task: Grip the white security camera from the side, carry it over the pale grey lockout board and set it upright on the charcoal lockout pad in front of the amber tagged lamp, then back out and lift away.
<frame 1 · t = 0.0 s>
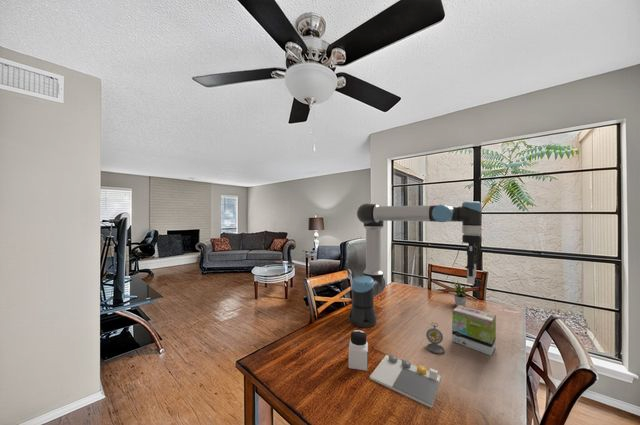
hand: (471, 280, 106), 28 cm above the table, tool pointing down, fingers open, 13 cm apart
pocket watch: (435, 349, 99), on the table
tea box: (473, 345, 103), on the table
lockout board: (405, 378, 81), on the table
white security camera: (358, 364, 88), on the table
house plant: (457, 305, 149), on the table
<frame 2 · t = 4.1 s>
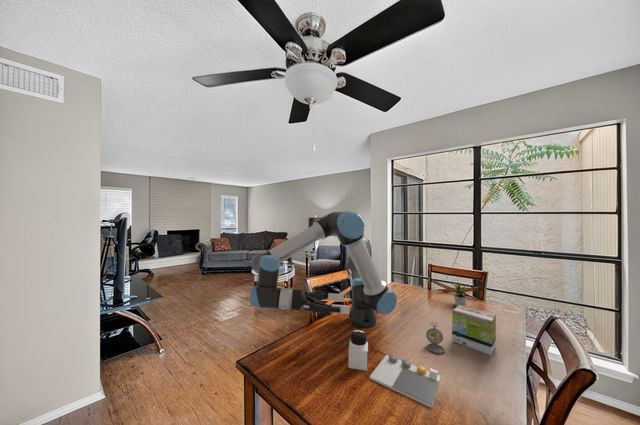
hand: (346, 303, 89), 23 cm above the table, tool horizontal, fingers open, 13 cm apart
nothing on the table moved.
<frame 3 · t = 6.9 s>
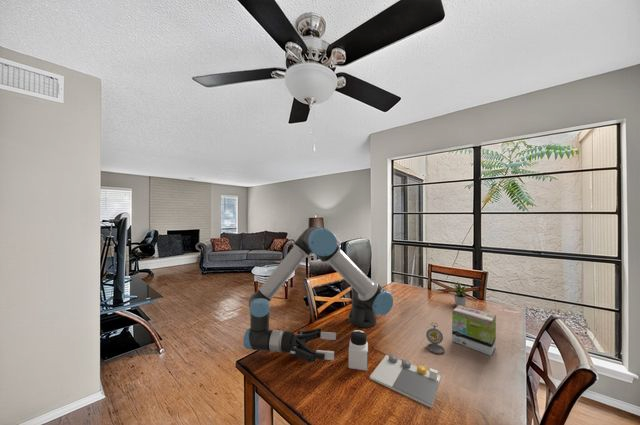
hand: (335, 345, 90), 6 cm above the table, tool horizontal, fingers open, 13 cm apart
nothing on the table moved.
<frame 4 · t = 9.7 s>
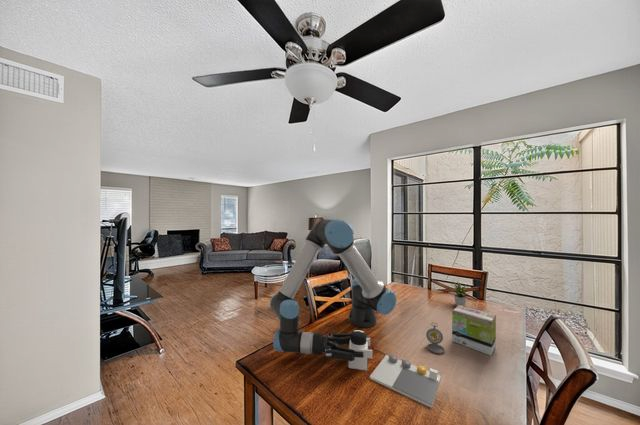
hand: (371, 347, 88), 7 cm above the table, tool horizontal, fingers closed on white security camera, 7 cm apart
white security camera: (358, 364, 89), on the table, touching gripper
everything else where it was.
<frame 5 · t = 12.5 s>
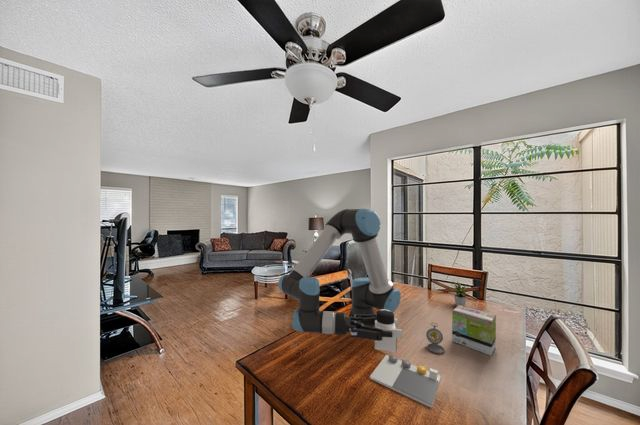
hand: (399, 328, 80), 18 cm above the table, tool horizontal, fingers closed on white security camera, 7 cm apart
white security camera: (385, 346, 81), point 11 cm above the table, touching gripper
everything else where it was.
when the fingers open (8 cm above the table, at t = 15.6 s): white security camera stays where it is, resting on lockout board.
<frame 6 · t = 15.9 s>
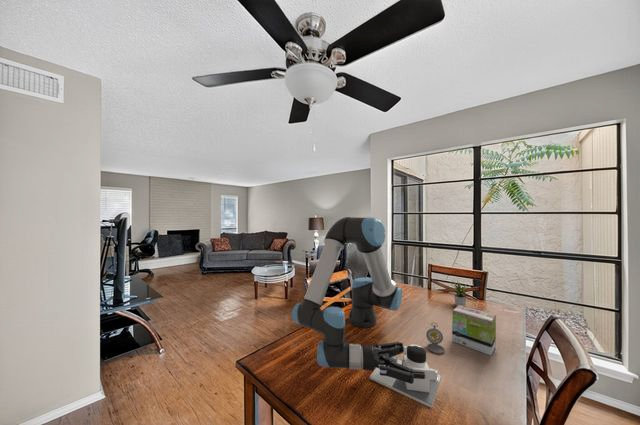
hand: (428, 362, 76), 8 cm above the table, tool horizontal, fingers open, 11 cm apart
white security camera: (415, 384, 77), point 1 cm above the table, touching lockout board
everything else where it was.
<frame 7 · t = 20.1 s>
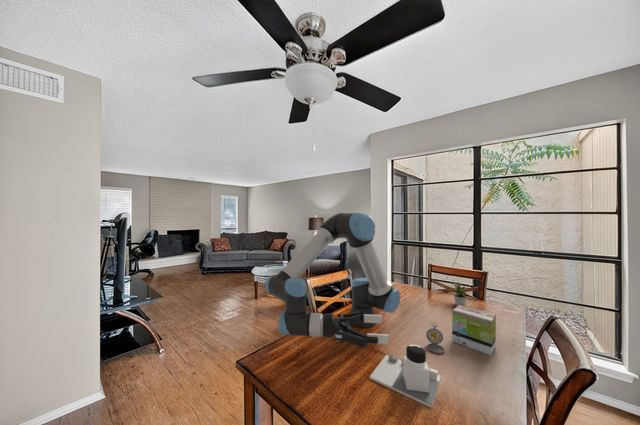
hand: (385, 328, 78), 19 cm above the table, tool horizontal, fingers open, 13 cm apart
nothing on the table moved.
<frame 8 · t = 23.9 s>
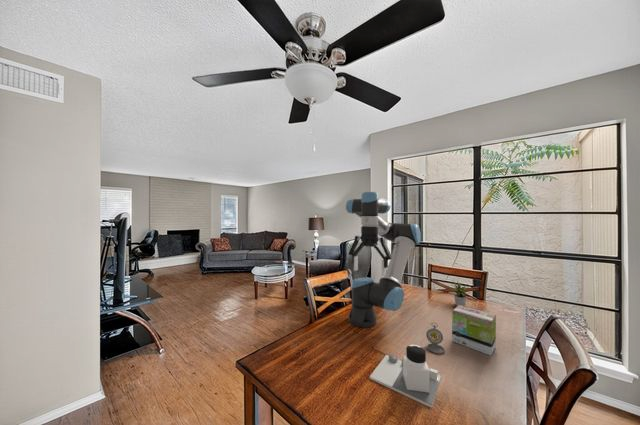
hand: (369, 272, 104), 32 cm above the table, tool pointing down, fingers open, 13 cm apart
nothing on the table moved.
at the end: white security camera inside the target area (0.0 cm from its centre), point 0.8 cm above the table; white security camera tilted 0°; the gripper is holding nothing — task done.
